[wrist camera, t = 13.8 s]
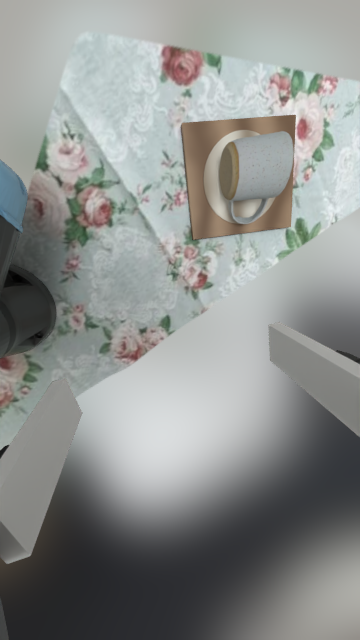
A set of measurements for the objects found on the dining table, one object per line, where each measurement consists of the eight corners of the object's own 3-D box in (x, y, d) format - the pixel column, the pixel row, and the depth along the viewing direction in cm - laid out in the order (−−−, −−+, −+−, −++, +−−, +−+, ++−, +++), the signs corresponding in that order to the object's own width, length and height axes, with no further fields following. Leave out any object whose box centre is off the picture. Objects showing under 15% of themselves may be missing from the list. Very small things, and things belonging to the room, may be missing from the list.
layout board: (192, 239, 36) (193, 239, 35) (180, 127, 31) (182, 121, 30) (287, 227, 38) (292, 226, 37) (291, 118, 33) (297, 113, 32)
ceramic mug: (214, 153, 32) (234, 125, 24) (264, 147, 32) (298, 117, 25) (220, 228, 35) (239, 223, 28) (265, 220, 36) (295, 213, 29)
